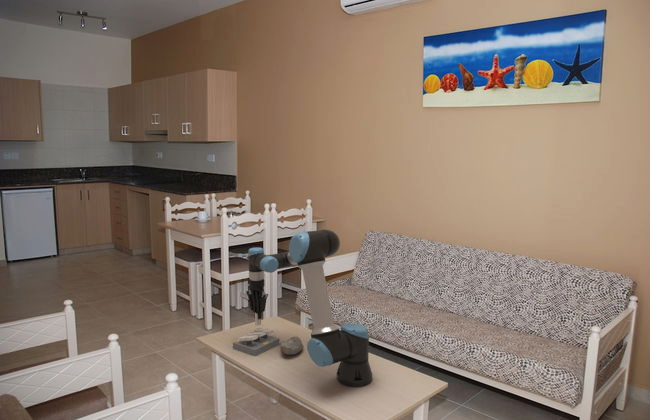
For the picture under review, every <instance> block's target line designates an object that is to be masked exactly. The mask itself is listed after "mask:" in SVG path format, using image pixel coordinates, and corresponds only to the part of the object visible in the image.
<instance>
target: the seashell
mask: <svg viewBox="0 0 650 420" xmlns="http://www.w3.org/2000/svg"><path fill="white" fill-rule="evenodd" d="M303 349H304V344H303V342H302V340H301V339H300V337H299V336H292V337H290V338H288V339H286V340H284V341H281V343H280V350H281V351H282V353H284V354H285V355H287V356H289V355H290V356H293V355H295V354H298V353H299V352H301V350H303Z"/></svg>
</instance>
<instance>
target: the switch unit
mask: <svg viewBox="0 0 650 420" xmlns="http://www.w3.org/2000/svg"><path fill="white" fill-rule="evenodd" d="M279 345H280V337H275V336H273V335H271V334H270V335H264V336H261V337H258V338H257V339H255V340H251V341H238V339H237V340H236V341H233V342H232V349H233V348H234V349H233V350H236V349H237V350H236V351H240V352H242V353H245V354H248V355H251V356H254V357H257V356H258V355H261V354H262V353H265V352H267V351H269V350H271V349H274V348H275V347H276V346H279Z"/></svg>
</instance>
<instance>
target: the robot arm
mask: <svg viewBox="0 0 650 420" xmlns="http://www.w3.org/2000/svg"><path fill="white" fill-rule="evenodd" d="M340 247H341V240H340V237H339V235H338V234H337V233H335V231H333V230H330V229H321V230H317V229H316V230H309V231H303V232H298V233H295V234H294V235H293V236H292V237H291V239H290V241H289V246H288V251H286V252H279V253H273V254H265V252H264V249H263V248H262V247H251V248H249V249H248V251H247V252H248V255H247V258H248V279H249V280H248V285H249V290H247V291H246V294H247V295H246V296H247V298H248V303H249V307H250V310H251V311H253V317H254V325H255V326H256V327H258V326H261V325H262V316H263V315H262V313H263V312H265V310H266V305H267V299H268V297H269V294H268V293H266V292H265V279H264V278H265V273H271V274H272V273H274V272H276V271H277V270H282V269H287V268H288V269H289V268H292V267H293V268H294V267H298V268H299V269H301V270H302V276H303V281H304V286H305V293H306V296H307V302H308V307H309V312H310V317H311V323H312V328H313V329H312V330H311V332H310V337H311V338H310V339H309V340H308V341H307V344H306V349H307V353H308V355H309V359H310V360H311V361H312V362H313V363H314V364H315V365H317V366H318V367H321V368H323V367H328V366H329V367H330V366H332V365H334V364H337V363H339V365H338V368H337V370H336V381H337V382H338V383H340V384H341V385H342V386H347V387H354V388H357V387H360V388H361V387H363V386H367V385H370V384H371V383H372V381H373V371H372V368H371V365H370V361H369V352H370V351H369V349H370V347H369V346H370V345H369V344H370V342H369V341H370V335H369V329H368V327H366V326H365V325H362V324H359V323H351V322H349V323H348V322H347V323H343V324H341V326H340V328H339V326H337V325H336V324H335V321H334V317H333V312H332V306H331V303H330V301H331V300H330V297H329V291H328V286H327V282H326V276H325V271H324V264H325V263H326V261H327V260H326V258H328V257H332V256H333V255H335V254H336V253H337V252H339V250H340Z"/></svg>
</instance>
